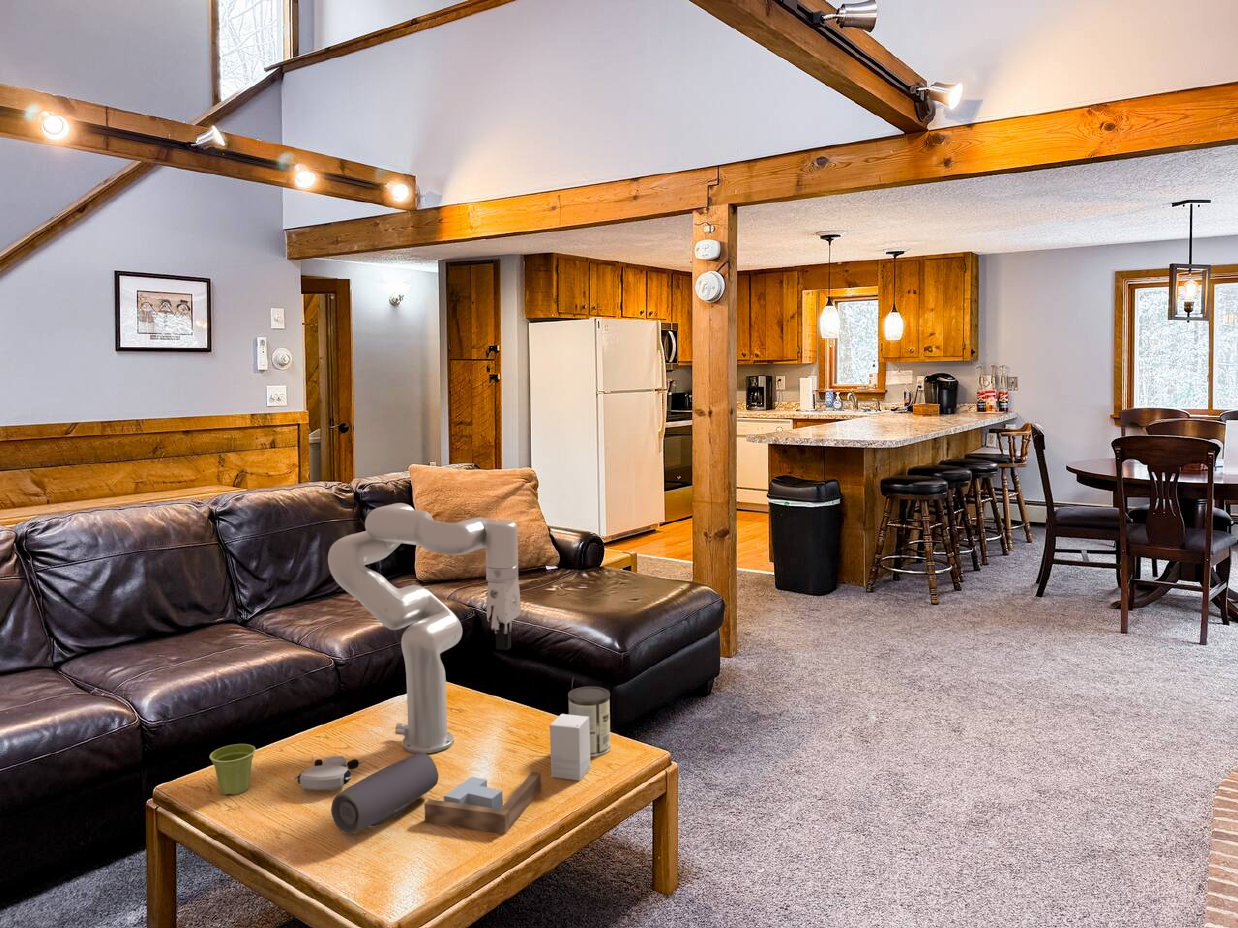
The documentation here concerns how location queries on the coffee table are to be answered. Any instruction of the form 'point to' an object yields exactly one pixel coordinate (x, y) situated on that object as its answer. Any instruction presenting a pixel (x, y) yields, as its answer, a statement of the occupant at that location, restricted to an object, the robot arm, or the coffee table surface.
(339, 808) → the bluetooth speaker
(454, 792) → the tee block
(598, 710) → the coffee can
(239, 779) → the plant pot
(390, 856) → the coffee table surface
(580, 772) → the supplement box
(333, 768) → the robot toy
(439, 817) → the walnut fence
